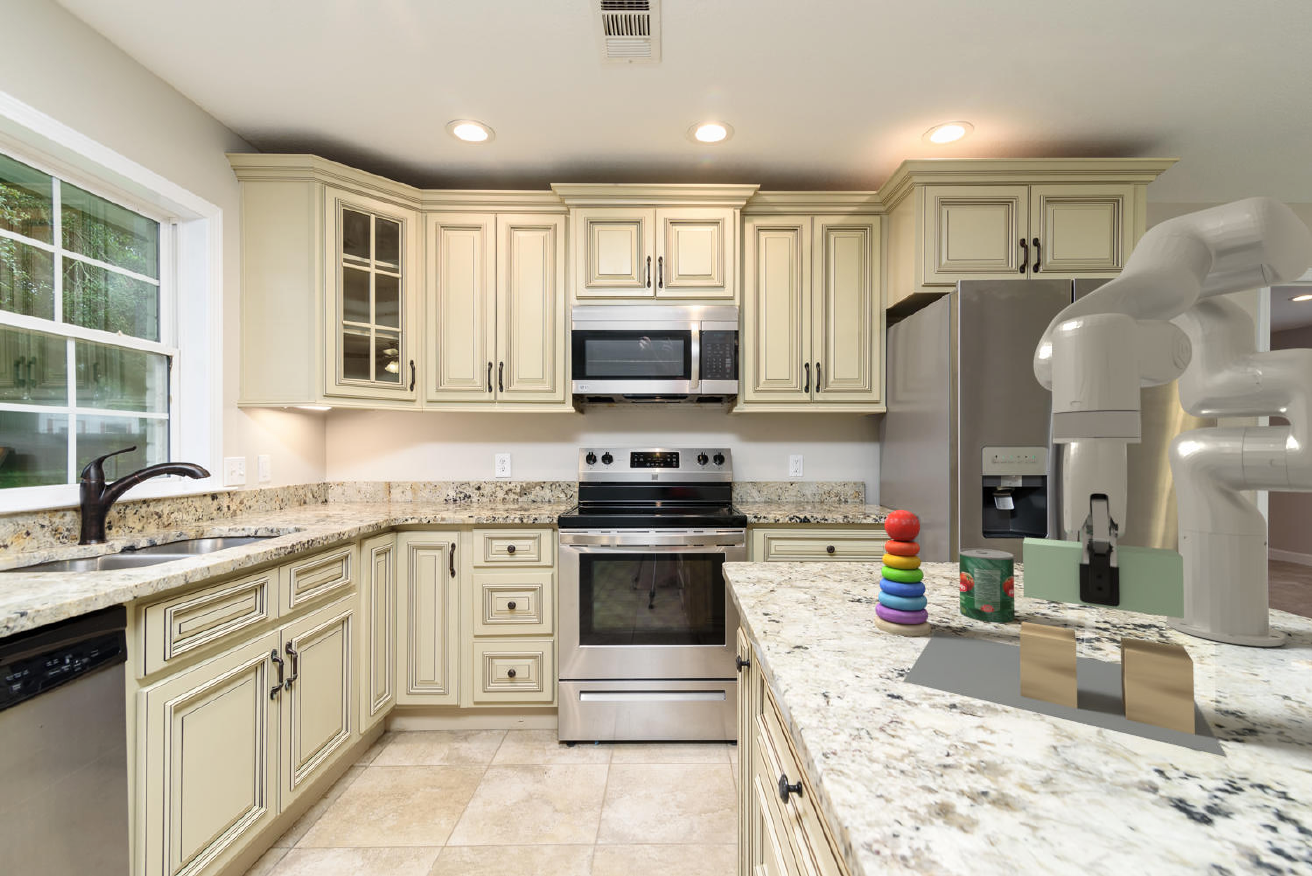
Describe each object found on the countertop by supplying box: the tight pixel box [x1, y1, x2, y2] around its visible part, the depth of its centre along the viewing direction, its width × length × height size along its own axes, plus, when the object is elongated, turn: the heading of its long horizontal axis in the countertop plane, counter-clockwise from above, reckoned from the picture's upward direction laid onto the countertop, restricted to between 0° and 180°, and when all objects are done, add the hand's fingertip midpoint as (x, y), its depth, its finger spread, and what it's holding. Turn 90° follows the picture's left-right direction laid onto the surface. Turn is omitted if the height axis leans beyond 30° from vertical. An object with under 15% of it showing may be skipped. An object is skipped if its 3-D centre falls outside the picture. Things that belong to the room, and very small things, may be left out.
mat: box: [903, 631, 1227, 758], centre depth 66 cm, size 22×27×1 cm
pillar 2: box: [1120, 636, 1195, 735], centre depth 56 cm, size 5×5×7 cm
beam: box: [1022, 537, 1184, 619], centre depth 59 cm, size 5×13×6 cm, turn 54°
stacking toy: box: [873, 509, 932, 637], centre depth 85 cm, size 8×8×19 cm
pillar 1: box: [1019, 621, 1077, 708], centre depth 62 cm, size 5×5×7 cm
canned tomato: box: [958, 548, 1016, 624], centre depth 91 cm, size 8×8×11 cm
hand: (1097, 596), depth 59 cm, fingers closed on beam, 5 cm apart
